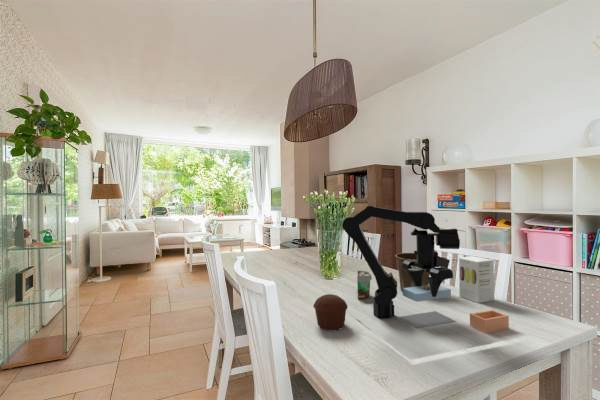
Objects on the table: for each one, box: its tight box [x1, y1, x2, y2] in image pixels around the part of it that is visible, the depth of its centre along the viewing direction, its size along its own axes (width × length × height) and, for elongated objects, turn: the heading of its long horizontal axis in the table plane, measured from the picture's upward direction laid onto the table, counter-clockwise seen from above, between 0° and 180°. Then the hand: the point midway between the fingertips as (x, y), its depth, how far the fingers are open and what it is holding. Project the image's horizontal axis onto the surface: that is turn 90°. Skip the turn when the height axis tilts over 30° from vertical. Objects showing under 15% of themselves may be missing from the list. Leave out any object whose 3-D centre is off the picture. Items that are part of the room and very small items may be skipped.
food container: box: [356, 270, 373, 300], centre depth 133 cm, size 12×6×10 cm, turn 168°
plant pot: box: [394, 252, 431, 292], centre depth 139 cm, size 16×16×16 cm
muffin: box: [313, 293, 348, 331], centre depth 103 cm, size 12×11×10 cm
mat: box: [398, 310, 457, 329], centre depth 104 cm, size 16×10×1 cm, turn 107°
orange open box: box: [469, 309, 510, 334], centre depth 97 cm, size 10×6×5 cm, turn 107°
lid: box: [402, 285, 452, 303], centre depth 104 cm, size 14×7×4 cm, turn 107°
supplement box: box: [458, 255, 495, 304], centre depth 127 cm, size 10×9×17 cm
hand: (426, 293), depth 104 cm, fingers closed on lid, 7 cm apart
